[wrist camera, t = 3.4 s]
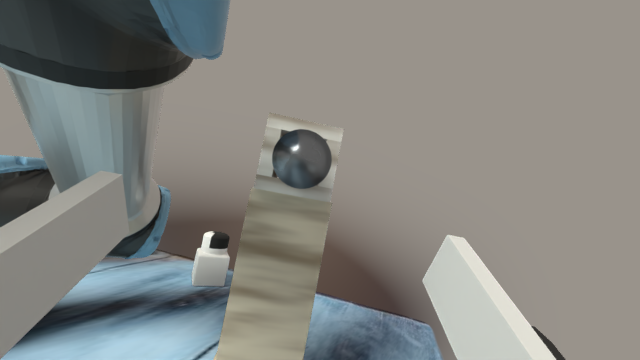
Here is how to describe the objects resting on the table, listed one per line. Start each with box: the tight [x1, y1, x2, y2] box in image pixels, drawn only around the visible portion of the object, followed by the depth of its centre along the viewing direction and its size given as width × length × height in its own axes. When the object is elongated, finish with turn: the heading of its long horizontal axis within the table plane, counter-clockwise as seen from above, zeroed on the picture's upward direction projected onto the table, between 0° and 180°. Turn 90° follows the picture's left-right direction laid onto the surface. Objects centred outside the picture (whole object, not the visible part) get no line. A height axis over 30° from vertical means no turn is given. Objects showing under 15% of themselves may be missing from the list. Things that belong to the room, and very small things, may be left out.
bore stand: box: [213, 113, 343, 360], centre depth 33 cm, size 12×12×33 cm
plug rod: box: [272, 129, 332, 189], centre depth 27 cm, size 26×4×4 cm, turn 6°
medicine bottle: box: [192, 231, 230, 287], centre depth 66 cm, size 7×7×12 cm
